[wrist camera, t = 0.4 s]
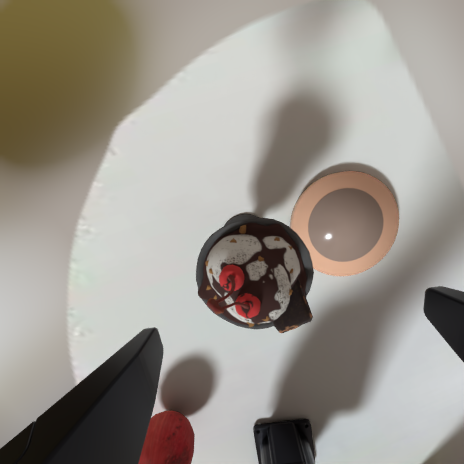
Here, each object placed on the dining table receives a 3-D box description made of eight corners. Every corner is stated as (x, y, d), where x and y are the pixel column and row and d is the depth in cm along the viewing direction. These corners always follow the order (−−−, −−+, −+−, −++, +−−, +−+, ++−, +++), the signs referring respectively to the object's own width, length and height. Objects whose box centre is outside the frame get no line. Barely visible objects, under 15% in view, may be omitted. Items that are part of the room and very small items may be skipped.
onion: (186, 384, 26) (166, 468, 18) (207, 424, 27) (196, 520, 19) (140, 401, 27) (101, 489, 19) (161, 439, 28) (133, 539, 20)
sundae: (203, 215, 23) (148, 262, 8) (270, 197, 23) (341, 214, 8) (220, 277, 24) (200, 419, 9) (285, 261, 24) (371, 382, 9)
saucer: (394, 265, 24) (401, 268, 23) (295, 279, 24) (298, 283, 23) (391, 163, 22) (398, 162, 21) (284, 180, 22) (286, 180, 21)
